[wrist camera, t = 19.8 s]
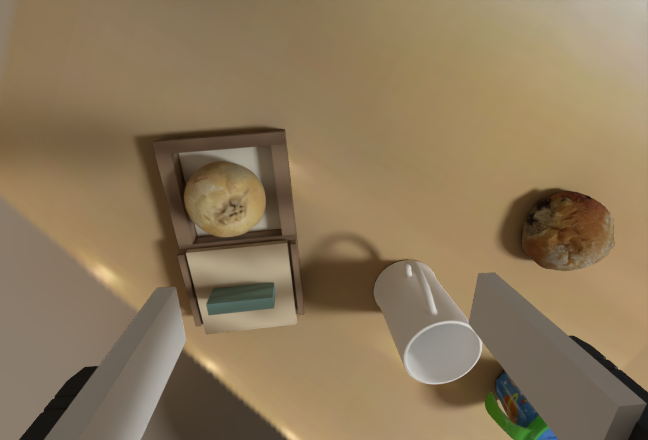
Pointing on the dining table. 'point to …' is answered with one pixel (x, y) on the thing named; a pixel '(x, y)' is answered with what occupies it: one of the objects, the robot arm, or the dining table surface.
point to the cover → (243, 286)
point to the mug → (426, 324)
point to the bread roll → (568, 232)
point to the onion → (224, 199)
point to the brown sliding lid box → (259, 157)
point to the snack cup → (516, 413)
